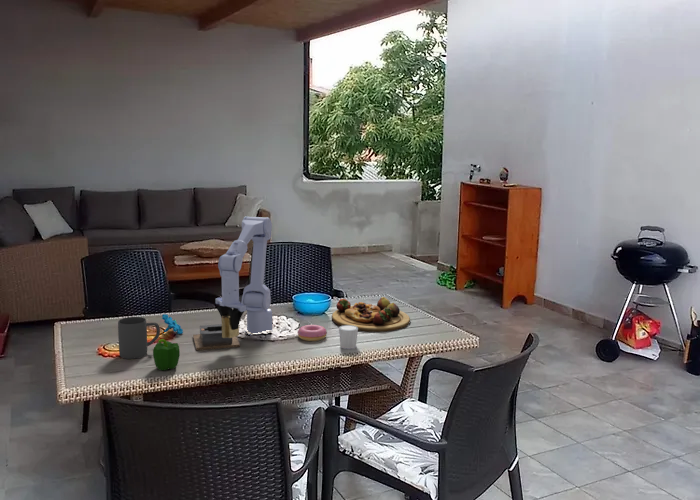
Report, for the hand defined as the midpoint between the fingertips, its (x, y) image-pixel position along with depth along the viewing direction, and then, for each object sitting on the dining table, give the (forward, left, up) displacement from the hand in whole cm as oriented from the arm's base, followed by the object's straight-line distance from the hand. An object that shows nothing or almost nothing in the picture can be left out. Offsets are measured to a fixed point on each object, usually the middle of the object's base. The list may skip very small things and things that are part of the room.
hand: (230, 327), depth 223 cm
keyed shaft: (0, 0, -3) cm, 3 cm away
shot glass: (-41, +5, -9) cm, 42 cm away
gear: (+18, -25, -9) cm, 32 cm away
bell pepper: (+22, +11, -9) cm, 26 cm away
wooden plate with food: (-60, -24, -9) cm, 65 cm away
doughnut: (-31, -8, -9) cm, 33 cm away
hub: (+4, -11, -8) cm, 14 cm away
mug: (+30, -5, -9) cm, 32 cm away
